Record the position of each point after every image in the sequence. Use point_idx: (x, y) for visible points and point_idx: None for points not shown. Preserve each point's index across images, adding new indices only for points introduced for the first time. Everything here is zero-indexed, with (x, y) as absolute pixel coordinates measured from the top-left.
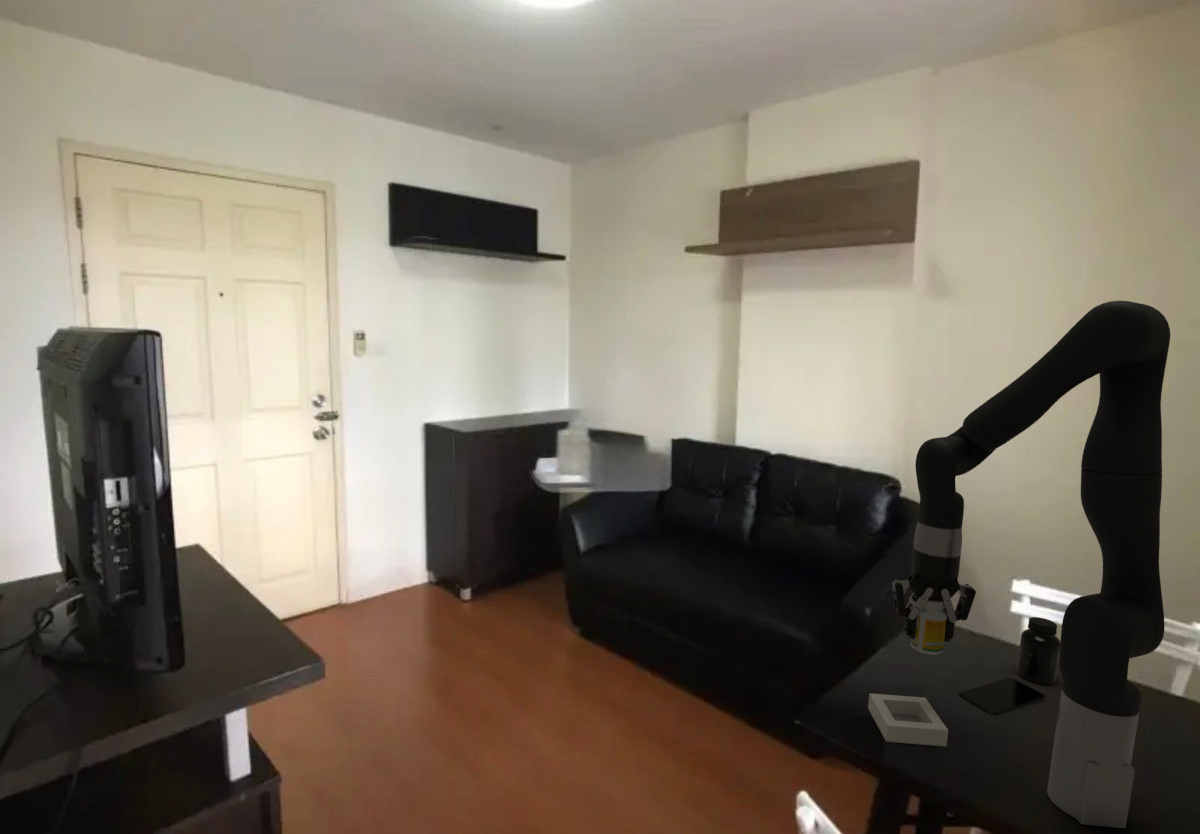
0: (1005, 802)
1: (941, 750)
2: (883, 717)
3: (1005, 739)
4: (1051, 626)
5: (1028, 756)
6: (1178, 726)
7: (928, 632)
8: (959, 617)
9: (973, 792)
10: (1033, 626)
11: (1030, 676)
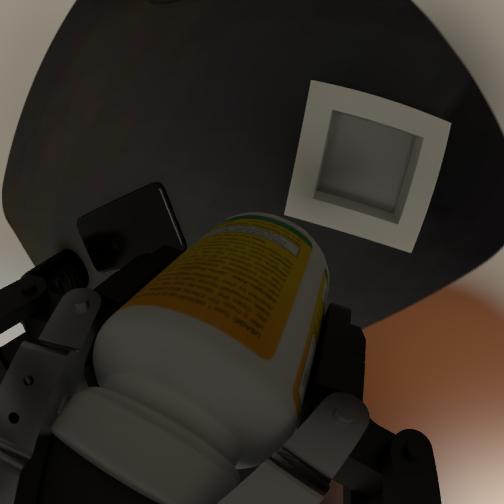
0: None
1: (335, 75)
2: (443, 154)
3: (180, 108)
4: None
5: (172, 62)
6: (11, 161)
7: (274, 280)
8: (50, 303)
9: None
10: None
11: (76, 264)
